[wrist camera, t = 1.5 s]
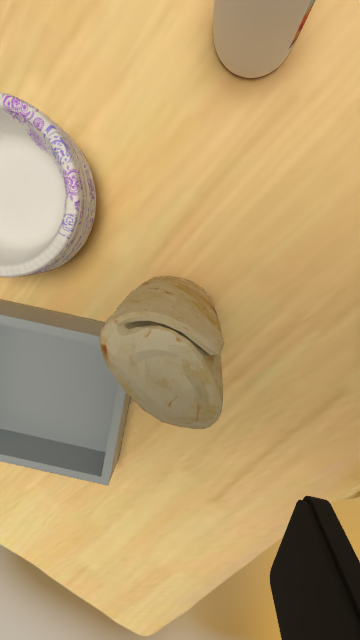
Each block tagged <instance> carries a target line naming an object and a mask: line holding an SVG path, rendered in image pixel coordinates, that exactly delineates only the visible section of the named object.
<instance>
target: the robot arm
mask: <svg viewBox="0 0 360 640" xmlns="http://www.w3.org/2000/svg"><path fill="white" fill-rule="evenodd" d="M270 585H271V590H272V595H273V600H274V604H275V609H276V613H277V619H278V623H279V628H280V633H281V638H282V640H360V562H359V560H358V558H357V556H356V554H355V552H354V550H353V548H352V546H351V544H350V542H349V540H348V538H347V536H346V534H345V532H344V530H343V528H342V526H341V524H340V522H339V520H338V518H337V516H336V514H335V512H334V510H333V508H332V506H331V504H330V503H329V501H327V500H324V499H320V498H315V497H311V496H305V497H304V499H303V500H298V502H297V503H296V506H295V509H294V511H293V514H292V516H291V519H290V521H289V524H288V527H287V529H286V532H285V534H284V537H283V539H282V542H281V544H280V547H279V550H278V552H277V555H276V557H275V560H274V562H273V565H272V568H271V571H270Z"/></svg>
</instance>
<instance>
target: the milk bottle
mask: <svg viewBox="0 0 360 640" xmlns="http://www.w3.org/2000/svg"><path fill="white" fill-rule="evenodd" d="M314 2H315V0H215V1H214V18H213V40H214V46H215V49H216V52H217V55H218V57H219V59H220V60H221V62H222V63H223V64H224V66H225V67H226V68H227V69H228V70H230V71H231V72H233V73H234V74H236V75H238V76H241V77H245V78H257V77H262V76H264V75H267V74H269V73H271V72H272V71H274V70H275V69H277V68H278V67H279V66H280V65H281V64H282V63H283V62H284V60H285V59H286V58H287V56H288V55H289V53H290V51H291V49H292V47H293V46H294V44H295V42H296V40H297V37H298V35H299V33H300V31H301V29H302V27H303V25H304V23H305V21H306V19H307V17H308V15H309V13H310V11H311V8H312V6H313V4H314Z"/></svg>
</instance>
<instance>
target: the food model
mask: <svg viewBox="0 0 360 640" xmlns="http://www.w3.org/2000/svg"><path fill="white" fill-rule="evenodd" d="M223 345H224V341H223V338H222V334H221V330H220V325H219V321H218V317H217V313H216V311H215V307H214V305H213V302H212V301H211V299H210V297H209V296H208V295H207V294H206V292H205V291H204V290H203V289H201V288H200V287H198V286H197V285H196V284H194V283H192V282H190V281H188V280H184V279H180V278H173V277H154V278H152V279H150V280H149V281H147V282H145V283H143V284H142V285H140V286H139V287H138V288H137V289H136V290H134V291H132V292H131V293H130V294H129V295H128V296H127V297H126V299H125V300H124V301H123V302H122V303H121V304H120V305H119V307H118V308H117V310H116V312H115V313H114V314H113V315H112V316H111V317H110V318H109V319H108V320H107V322H106V323H105V324H104V326H103V327H102V329H101V330H100V347H101V350H102V354H103V357H104V360H105V361H106V363H107V365H108V367H109V369H110V371H111V372H112V374H113V376H114V377H115V378H116V380H117V381H118V382H119V384H120V385H121V386H122V387H123V389H124V390H125V391H126V393H127V394H128V395H129V396H130V397H131V398H132V399H133V400H134V401H135V402H136V403H137V404H138V405H139V406H140V407H141V408H142V409H143V410H144V411H146V412H148V413H149V414H151V415H152V416H154V417H155V418H157V419H159V420H160V421H162V422H165V423H168V424H172V425H176V426H179V427H185V428H192V429H204V428H207V427H210V426H211V425H212V424H213V423H215V422H216V421H217V419H218V417H219V416H220V414H221V410H222V403H223V385H222V366H221V358H220V352H221V350H222V348H223Z"/></svg>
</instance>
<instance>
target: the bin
mask: <svg viewBox="0 0 360 640" xmlns="http://www.w3.org/2000/svg"><path fill="white" fill-rule="evenodd" d="M104 324H105V322H100V321H96V320H91V319H87V318H82V317H78V316H73V315H69V314H64V313H60V312H55V311H51V310H46V309H42V308H37V307H33V306H28V305H24V304H19V303H15V302H10V301H6V300H1V299H0V461H1V462H6V463H10V464H15V465H19V466H24V467H28V468H32V469H37V470H41V471H46V472H50V473H55V474H59V475H64V476H68V477H72V478H77V479H81V480H86V481H90V482H95V483H99V484H104V485H109V482H110V480H111V477H112V474H113V472H114V469H115V466H116V464H117V461H118V458H119V454H120V449H121V443H122V438H123V433H124V428H125V422H126V417H127V412H128V407H129V401H130V396H129V395H128V394H127V393H126V391H125V390H124V389H123V387H122V386H121V385H120V384H119V382H118V381H117V380H116V378H115V377H114V376H113V374H112V372H111V371H110V369H109V367H108V365H107V363H106V361H105V360H104V357H103V354H102V350H101V347H100V330H101V329H102V327H103V326H104Z"/></svg>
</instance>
